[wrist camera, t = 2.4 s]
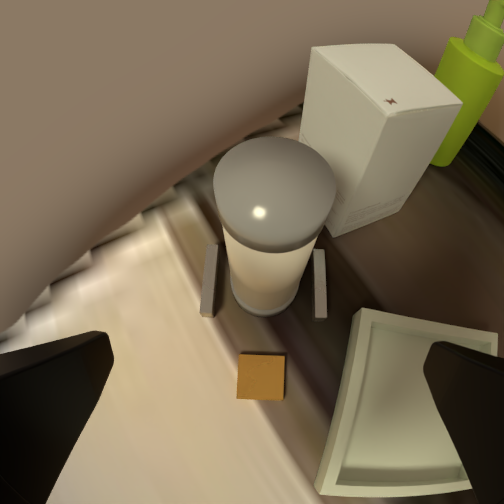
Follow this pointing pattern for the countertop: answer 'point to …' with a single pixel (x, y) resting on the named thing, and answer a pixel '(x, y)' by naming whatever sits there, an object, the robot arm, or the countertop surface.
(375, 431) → the tray
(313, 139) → the supplement box
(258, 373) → the blocks
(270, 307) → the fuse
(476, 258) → the countertop surface
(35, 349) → the robot arm
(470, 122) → the soap dispenser
